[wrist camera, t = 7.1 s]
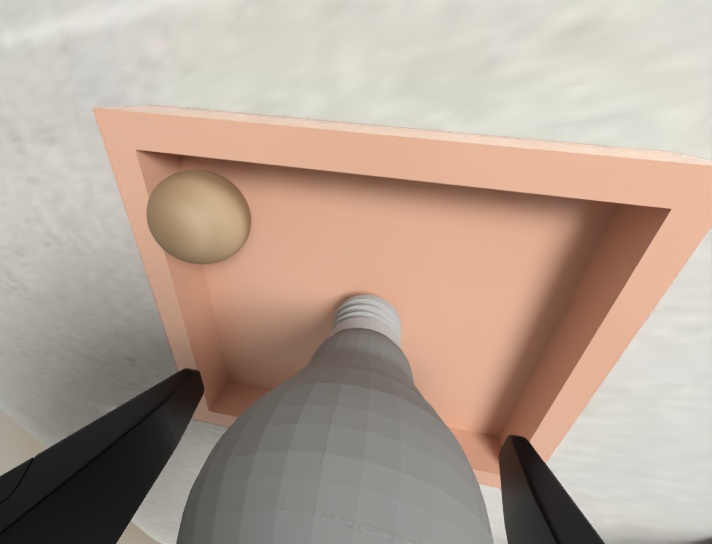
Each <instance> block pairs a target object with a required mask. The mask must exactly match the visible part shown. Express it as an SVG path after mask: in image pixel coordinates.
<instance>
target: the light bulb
mask: <svg viewBox="0 0 712 544" xmlns="http://www.w3.org/2000/svg"><path fill="white" fill-rule="evenodd" d="M177 544H494V543H493V538H492V534H491V529H490V524H489V519H488V515H487V510H486V506H485V503H484V500H483V496H482V493H481V490H480V487H479V484H478V481H477V479H476V476H475V474H474V472H473V469H472V467H471V465H470V463H469V461H468V459H467V457H466V455H465V453H464V451H463V449H462V447H461V446H460V444H459V442H458V441H457V439H456V437H455V436H454V434H453V433H452V432H451V431H450V429H449V428H448V427H447V426H446V424H445V423H444V422H443V420H442V419H441V418H440V417H439V415H438V414H437V412H436V411H435V410H434V408H433V407H432V406H431V405H430V404H429V403H428V402H427V401H426V400H425V399H424V397H423V396H422V394H421V393H420V391H419V390H418V389H417V387H416V386H415V384H414V380H413V375H412V371H411V367H410V364H409V362H408V360H407V358H406V356H405V354H404V353H403V351H402V350H401V319H400V316H399V314H398V312H397V310H396V309H395V308H394V306H393V305H392V304H390V303H389V302H388V301H386V300H384V299H383V298H380V297H377V296H374V295H357V296H353V297H351V298H348V299H347V300H345V301H344V302H343V303H342V304H341V305H340V307H339V308H338V310H337V313H336V317H335V320H334V323H333V326H332V330H331V333H330V336H329V338H328V339H326V340H325V341H324V342H323V343H322V344H321V345H320V346H319V347H318V348H317V350H316V351H315V353H314V354H313V356H312V358H311V359H310V361H309V363H308V365H307V366H306V367H305V368H303V369H302V370H300V371H299V372H298V373H296V374H295V375H294V376H292V377H291V378H289V379H287V380H285V381H283V382H282V383H280V384H279V385H278V386H276V387H275V388H274V389H272V390H271V391H269V392H268V393H266V394H265V395H263V396H262V397H260V398H259V399H257V400H256V401H254V402H253V403H252V404H251V405H250V406H249V407H248V408H247V409H246V410H245V411H244V412H243V413H242V414H241V415H240V416H239V417H238V418H237V419H236V420H235V421H234V423H233V424H232V425H231V426H230V427H229V428H228V430H227V431H226V432H225V433H224V434H223V435H222V437H221V438H220V440H219V441H218V443H217V444H216V446H215V447H214V448H213V450H212V451H211V453H210V454H209V456H208V458H207V460H206V462H205V464H204V466H203V467H202V469H201V471H200V473H199V475H198V477H197V478H196V480H195V483H194V485H193V487H192V489H191V491H190V494H189V497H188V500H187V503H186V506H185V509H184V512H183V516H182V520H181V525H180V529H179V534H178V538H177Z"/></svg>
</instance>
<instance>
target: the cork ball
mask: <svg viewBox="0 0 712 544" xmlns="http://www.w3.org/2000/svg"><path fill="white" fill-rule="evenodd" d="M146 215H147V223H148V227H149V229H150V232H151V234H152V236H153V237H154V239H155V240H156V242H157V243H158V244H159V245H160V246H161V247H162V248H163V249H164V250H165V251H166V252H167V253H169V254H170V255H172V256H173V257H175V258H177V259H179V260H182V261H185V262H188V263H193V264H213V263H218V262H221V261H223V260H226V259H228V258H230V257H231V256H233V255H234V254H235V253H237V252H238V251H239V250H240V249H241V247H242V246H243V245H244V243H245V242H246V240H247V238H248V236H249V233H250V229H251V213H250V209H249V206H248V203H247V201H246V199H245V197H244V196H243V194H242V193H241V191H240V190H239V189H238V188H237V187H236V186H235V185H234V184H233V183H232V182H230V181H229V180H227V179H226V178H224V177H222V176H220V175H218V174H216V173H213V172H209V171H204V170H185V171H180V172H177V173H174V174H172V175H170V176H168V177H167V178H165V179H164V180H162V181H161V182H160V183H159V184H158V185H157V186H156V187H155V189H154V190H153V192H152V193H151V195H150V197H149V200H148V204H147V211H146Z"/></svg>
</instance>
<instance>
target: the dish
mask: <svg viewBox="0 0 712 544" xmlns="http://www.w3.org/2000/svg"><path fill="white" fill-rule="evenodd" d="M93 111H94V115H95V118H96V121H97V124H98V127H99V130H100V133H101V136H102V139H103V142H104V145H105V148H106V151H107V154H108V157H109V160H110V164H111V167H112V170H113V173H114V176H115V179H116V182H117V185H118V188H119V191H120V194H121V197H122V200H123V203H124V206H125V209H126V213H127V216H128V219H129V222H130V225H131V228H132V231H133V234H134V237H135V240H136V243H137V246H138V249H139V252H140V255H141V258H142V262H143V265H144V268H145V271H146V274H147V277H148V280H149V283H150V286H151V289H152V292H153V295H154V298H155V301H156V304H157V307H158V311H159V314H160V317H161V320H162V323H163V326H164V329H165V332H166V335H167V338H168V341H169V344H170V347H171V350H172V353H173V356H174V360H175V363H176V366H177V369H178V372H179V371H180V370H182V369H185V368H191V369H196V370H199V371H200V373H201V377H202V380H203V384H204V394H203V396H202V398H201V400H200V402H199V404H198V406H197V408H196V410H195V412H194V414H193V418H194V420H198V421H203V422H207V423H212V424H216V425H220V426H225V427H230V426H231V425H232V424H233V423H234V421H235V420H236V419H237V418H238V417H239V416H240V415H241V414H242V413H243V412H244V411H245V410H246V409H247V408H248V407H249V406H250V405H251V404H252V403H253V402H254V401H256V400H257V399H259V398H260V397H262V396H263V395H265V394H266V393H268V392H269V391H271V390H272V389H274V388H275V387H276V386H278V385H279V384H280V383H282V382H283V381H285V380H287V379H289V378H291V377H292V376H294V375H295V374H296V373H298V372H299V371H300V370H302V369H303V368H305V367H306V366H307V365H308V363H309V361H310V359H311V358H312V356H313V354H314V353H315V351H316V350H317V348H318V347H319V346H320V345H321V344H322V343H323V342H324V341H325V340H326V339H328V338H329V336H330V333H331V330H332V326H333V323H334V320H335V317H336V313H337V310H338V308H339V307H340V305H341V304H342V303H343V302H344V301H345V300H347V299H348V298H351V297H353V296H357V295H374V296H377V297H380V298H383V299H384V300H386V301H388V302H389V303H390V304H392V305H393V306H394V308H395V309H396V310H397V312H398V314H399V316H400V319H401V350H402V351H403V353H404V354H405V356H406V358H407V360H408V362H409V364H410V367H411V371H412V375H413V380H414V384H415V386H416V387H417V389H418V390H419V391H420V393H421V394H422V396H423V397H424V399H425V400H426V401H427V402H428V403H429V404H430V405H431V406H432V407H433V408H434V410H435V411H436V412H437V414H438V415H439V417H440V418H441V419H442V420H443V422H444V423H445V424H446V426H447V427H448V428H449V429H450V431H451V432H452V433H453V434H454V436H455V437H456V439H457V441H458V442H459V444H460V446H461V447H462V449H463V451H464V453H465V455H466V457H467V459H468V461H469V463H470V465H471V467H472V469H473V472H474V474H475V476H476V479H477V481H478V484H483V485H487V486H492V487H496V488H500V489H501V481H500V469H499V451H500V449H501V447H502V445H503V443H504V441H505V440H506V438H507V436H508V435H510V434H513V435H518V436H523V437H525V438H526V439H527V440H528V441H529V442H530V443H531V445H532V446H533V447H534V449H535V450H536V451H537V453H538V454H539V455H540V457H541V458H542V459H543V461H544V462H545V463H546V462H547V461H548V459H549V458H550V456H551V455H552V454H553V452H554V451H555V449H556V448H557V446H558V445H559V444H560V442H561V441H562V439H563V438H564V436H565V435H566V434H567V432H568V431H569V429H570V428H571V426H572V425H573V424H574V422H575V421H576V419H577V418H578V416H579V415H580V414H581V412H582V411H583V409H584V408H585V406H586V405H587V404H588V402H589V401H590V399H591V398H592V396H593V395H594V394H595V392H596V391H597V389H598V388H599V386H600V385H601V384H602V382H603V381H604V379H605V378H606V376H607V375H608V374H609V372H610V371H611V369H612V368H613V366H614V365H615V364H616V362H617V361H618V359H619V358H620V356H621V355H622V354H623V352H624V351H625V349H626V348H627V346H628V345H629V344H630V342H631V341H632V339H633V338H634V336H635V335H636V334H637V332H638V331H639V329H640V328H641V326H642V325H643V324H644V322H645V321H646V319H647V318H648V316H649V315H650V314H651V312H652V311H653V309H654V308H655V306H656V305H657V304H658V302H659V301H660V299H661V298H662V296H663V295H664V294H665V292H666V291H667V289H668V288H669V286H670V285H671V284H672V282H673V281H674V279H675V278H676V276H677V275H678V274H679V272H680V271H681V269H682V268H683V266H684V265H685V264H686V262H687V261H688V259H689V258H690V256H691V255H692V254H693V252H694V251H695V249H696V248H697V246H698V245H699V244H700V242H701V241H702V239H703V238H704V236H705V235H706V234H707V232H708V231H709V229H710V228H711V226H712V161H711V160H706V159H702V158H697V157H692V156H688V155H683V154H678V153H674V152H665V151H654V150H643V149H632V148H621V147H610V146H599V145H588V144H577V143H566V142H555V141H543V140H532V139H521V138H510V137H499V136H488V135H477V134H466V133H455V132H444V131H433V130H422V129H410V128H399V127H388V126H377V125H366V124H355V123H344V122H333V121H322V120H311V119H300V118H288V117H277V116H266V115H255V114H244V113H233V112H222V111H211V110H200V109H189V108H178V107H167V106H126V107H93ZM185 170H204V171H209V172H213V173H216V174H218V175H220V176H222V177H224V178H226V179H227V180H229V181H230V182H232V183H233V184H234V185H235V186H236V187H237V188H238V189H239V190H240V191H241V193H242V194H243V196H244V197H245V199H246V201H247V203H248V206H249V209H250V213H251V229H250V233H249V236H248V238H247V240H246V242H245V243H244V245H243V246H242V247H241V249H240V250H239V251H238V252H237V253H235V254H234V255H233V256H231V257H230V258H228V259H226V260H223V261H221V262H218V263H213V264H193V263H188V262H185V261H182V260H179V259H177V258H175V257H173V256H172V255H170V254H169V253H167V252H166V251H165V250H164V249H163V248H162V247H161V246H160V245H159V244H158V243H157V242H156V240H155V239H154V237H153V236H152V234H151V232H150V229H149V227H148V223H147V215H146V211H147V204H148V200H149V197H150V195H151V193H152V192H153V190H154V189H155V187H156V186H157V185H158V184H159V183H160V182H161V181H162V180H164V179H165V178H167V177H168V176H170V175H172V174H174V173H177V172H180V171H185Z"/></svg>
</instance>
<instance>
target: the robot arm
mask: <svg viewBox="0 0 712 544" xmlns="http://www.w3.org/2000/svg"><path fill="white" fill-rule="evenodd" d="M203 394H204V384H203V380H202V377H201V373H200V371H199V370H196V369H191V368H185V369H182V370H180V371H179V372H177V373H175V374H174V375H172V376H170V377H169V378H167V379H165V380H163V381H162V382H160V383H158V384H157V385H155V386H153V387H152V388H150V389H148V390H146V391H145V392H143V393H141V394H140V395H138V396H136V397H135V398H133V399H131V400H129V401H128V402H126V403H124V404H123V405H121V406H119V407H118V408H116V409H114V410H112V411H111V412H109V413H107V414H106V415H104V416H102V417H101V418H99V419H97V420H95V421H94V422H92V423H90V424H89V425H87V426H85V427H84V428H82V429H80V430H78V431H77V432H75V433H73V434H72V435H70V436H68V437H67V438H65V439H63V440H61V441H60V442H58V443H56V444H55V445H53V446H51V447H50V448H48V449H46V450H45V451H43V452H41V453H39V454H38V455H37V456H35V458H31V459H29V460H27V461H26V462H24V463H22V464H21V465H19V466H17V467H16V468H14V469H12V470H10V471H8V472H7V473H5V474H3V475H2V476H0V544H116V543H117V541H118V540H119V538H120V537H121V535H122V533H123V532H124V530H125V529H126V527H127V525H128V524H129V522H130V521H131V519H132V517H133V516H134V514H135V513H136V511H137V509H138V508H139V506H140V505H141V503H142V501H143V500H144V498H145V497H146V495H147V494H148V492H149V490H150V489H151V487H152V486H153V484H154V482H155V481H156V479H157V478H158V476H159V474H160V473H161V471H162V470H163V468H164V466H165V465H166V463H167V462H168V460H169V458H170V457H171V455H172V454H173V452H174V450H175V449H176V447H177V445H178V443H179V442H180V440H181V438H182V436H183V434H184V432H185V430H186V428H187V426H188V424H189V422H190V420H191V418H192V416H193V414H194V412H195V410H196V408H197V406H198V404H199V402H200V400H201V398H202V396H203ZM499 469H500V481H501V492H502V503H503V514H504V523H505V529H506V535H507V540H508V544H605V543H604V542H603V540H602V539H601V538H600V536H599V535H598V534H597V532H596V531H595V529H594V528H593V527H592V525H591V524H590V523H589V521H588V520H587V519H586V517H585V516H584V515H583V513H582V512H581V511H580V509H579V508H578V507H577V505H576V504H575V503H574V501H573V500H572V498H571V497H570V496H569V494H568V493H567V492H566V490H565V489H564V488H563V486H562V485H561V484H560V482H559V481H558V480H557V478H556V477H555V476H554V474H553V473H552V472H551V470H550V469H549V467H548V466H547V465H546V463H545V462H544V461H543V459H542V458H541V457H540V455H539V454H538V453H537V451H536V450H535V449H534V447H533V446H532V445H531V443H530V442H529V441H528V440H527V439H526V438H525V437H523V436H518V435H513V434H510V435H508V436H507V438H506V440H505V441H504V443H503V445H502V447H501V449H500V451H499Z"/></svg>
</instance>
